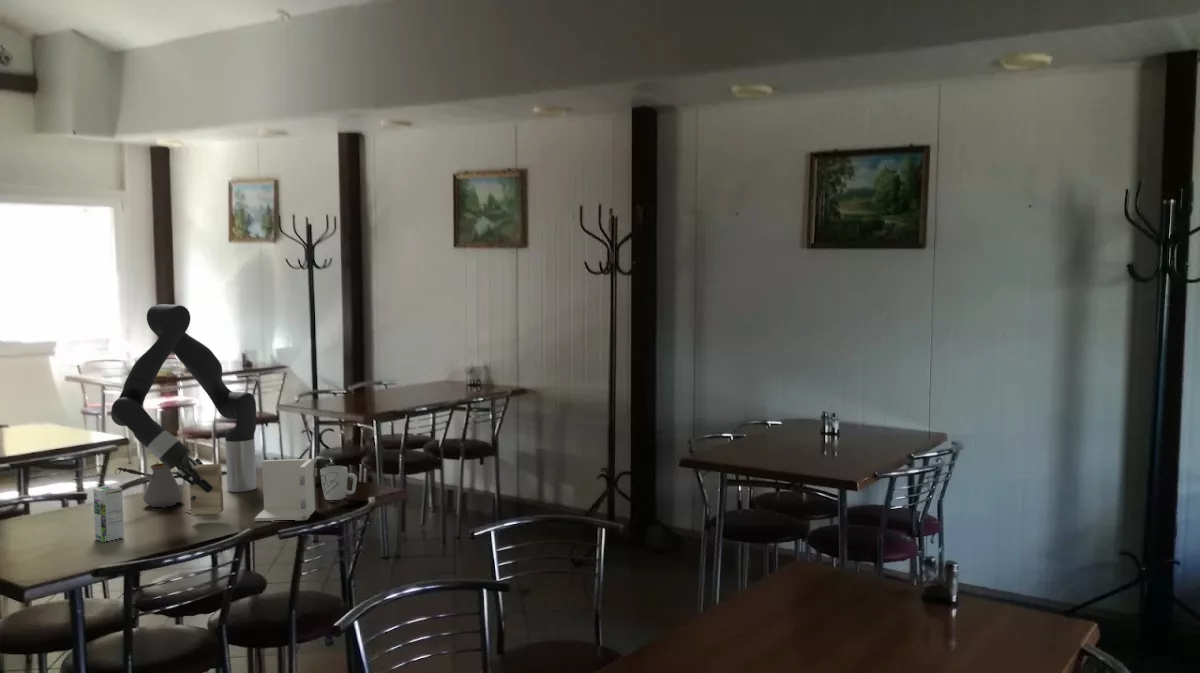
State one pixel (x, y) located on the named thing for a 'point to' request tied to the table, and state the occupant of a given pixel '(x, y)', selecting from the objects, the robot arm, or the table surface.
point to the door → (214, 498)
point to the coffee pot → (159, 486)
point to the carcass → (287, 490)
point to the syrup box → (108, 513)
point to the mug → (336, 482)
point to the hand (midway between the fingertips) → (213, 488)
